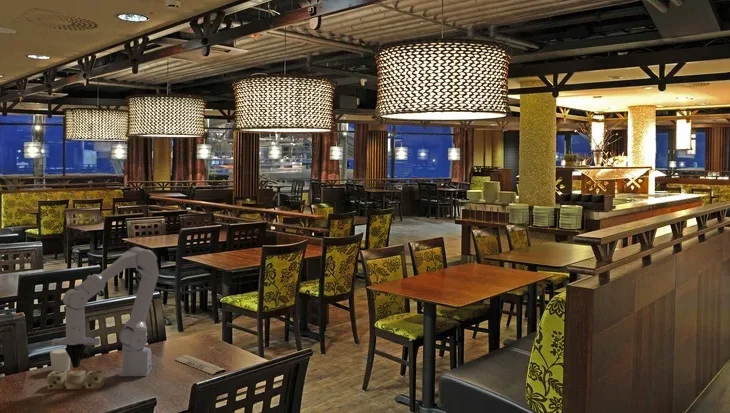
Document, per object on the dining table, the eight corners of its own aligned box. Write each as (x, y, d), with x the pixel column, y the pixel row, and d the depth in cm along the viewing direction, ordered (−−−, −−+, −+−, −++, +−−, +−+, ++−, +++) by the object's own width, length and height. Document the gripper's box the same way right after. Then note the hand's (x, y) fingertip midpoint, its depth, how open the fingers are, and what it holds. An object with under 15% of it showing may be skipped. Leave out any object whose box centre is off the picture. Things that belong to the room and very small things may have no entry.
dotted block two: (104, 383, 207) (104, 370, 207) (100, 388, 203) (99, 374, 202) (90, 383, 207) (90, 370, 207) (85, 388, 202) (85, 375, 202)
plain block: (85, 383, 207) (85, 370, 206) (80, 388, 202) (80, 375, 202) (71, 384, 206) (71, 370, 206) (66, 389, 202) (66, 375, 202)
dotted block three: (67, 384, 206) (67, 370, 206) (61, 389, 202) (61, 375, 201) (53, 384, 206) (52, 370, 206) (47, 389, 201) (47, 375, 201)
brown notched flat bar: (227, 373, 221) (227, 368, 221) (210, 378, 216) (210, 373, 216) (188, 358, 237) (188, 353, 236) (172, 363, 231) (172, 358, 231)
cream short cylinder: (63, 374, 215) (62, 354, 215) (45, 372, 217) (45, 352, 216) (75, 367, 222) (75, 348, 221) (59, 366, 223) (58, 347, 223)
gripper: (47, 329, 198) (48, 371, 199) (94, 329, 200) (94, 370, 201) (56, 323, 205) (57, 363, 206) (101, 323, 207) (102, 363, 208)
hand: (76, 366), depth 204 cm, fingers closed
